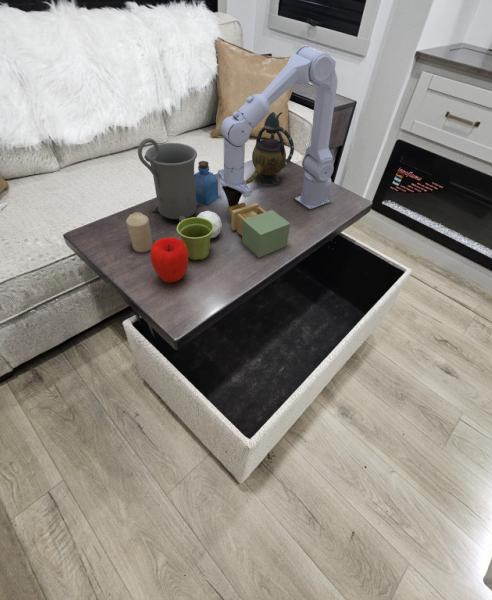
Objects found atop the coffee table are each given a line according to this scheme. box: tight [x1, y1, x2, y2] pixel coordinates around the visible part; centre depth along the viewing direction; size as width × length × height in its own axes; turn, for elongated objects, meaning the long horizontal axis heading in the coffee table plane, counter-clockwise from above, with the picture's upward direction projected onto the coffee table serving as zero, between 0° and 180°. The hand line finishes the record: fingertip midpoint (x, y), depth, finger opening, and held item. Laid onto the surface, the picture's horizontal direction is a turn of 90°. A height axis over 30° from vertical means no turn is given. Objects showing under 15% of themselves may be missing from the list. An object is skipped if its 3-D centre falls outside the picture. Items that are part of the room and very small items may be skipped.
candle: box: [125, 211, 154, 253], centre depth 89 cm, size 6×6×10 cm
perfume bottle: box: [194, 160, 219, 206], centre depth 109 cm, size 6×6×12 cm
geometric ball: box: [196, 210, 223, 239], centre depth 96 cm, size 8×8×8 cm
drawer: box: [226, 201, 267, 236], centre depth 99 cm, size 12×9×6 cm
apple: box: [149, 236, 189, 283], centre depth 81 cm, size 9×9×11 cm
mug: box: [137, 137, 199, 223], centre depth 95 cm, size 19×15×25 cm
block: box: [241, 211, 258, 219], centre depth 98 cm, size 4×4×4 cm
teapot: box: [245, 111, 295, 187], centre depth 114 cm, size 12×25×23 cm, turn 145°
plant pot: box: [176, 216, 214, 261], centre depth 89 cm, size 9×9×9 cm
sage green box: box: [241, 209, 291, 259], centre depth 94 cm, size 8×10×8 cm
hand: (233, 208), depth 103 cm, fingers closed
